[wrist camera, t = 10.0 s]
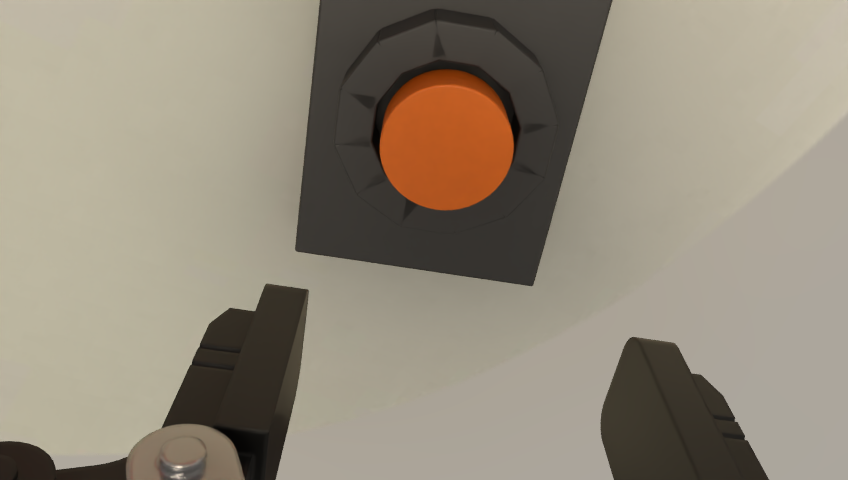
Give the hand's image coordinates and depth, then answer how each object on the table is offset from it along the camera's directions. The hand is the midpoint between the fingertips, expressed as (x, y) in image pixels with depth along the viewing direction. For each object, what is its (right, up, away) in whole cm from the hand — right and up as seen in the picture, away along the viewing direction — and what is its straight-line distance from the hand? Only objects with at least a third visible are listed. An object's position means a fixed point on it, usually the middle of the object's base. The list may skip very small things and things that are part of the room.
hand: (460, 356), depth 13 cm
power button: (0, +6, +11) cm, 12 cm away
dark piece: (0, +7, +14) cm, 16 cm away
